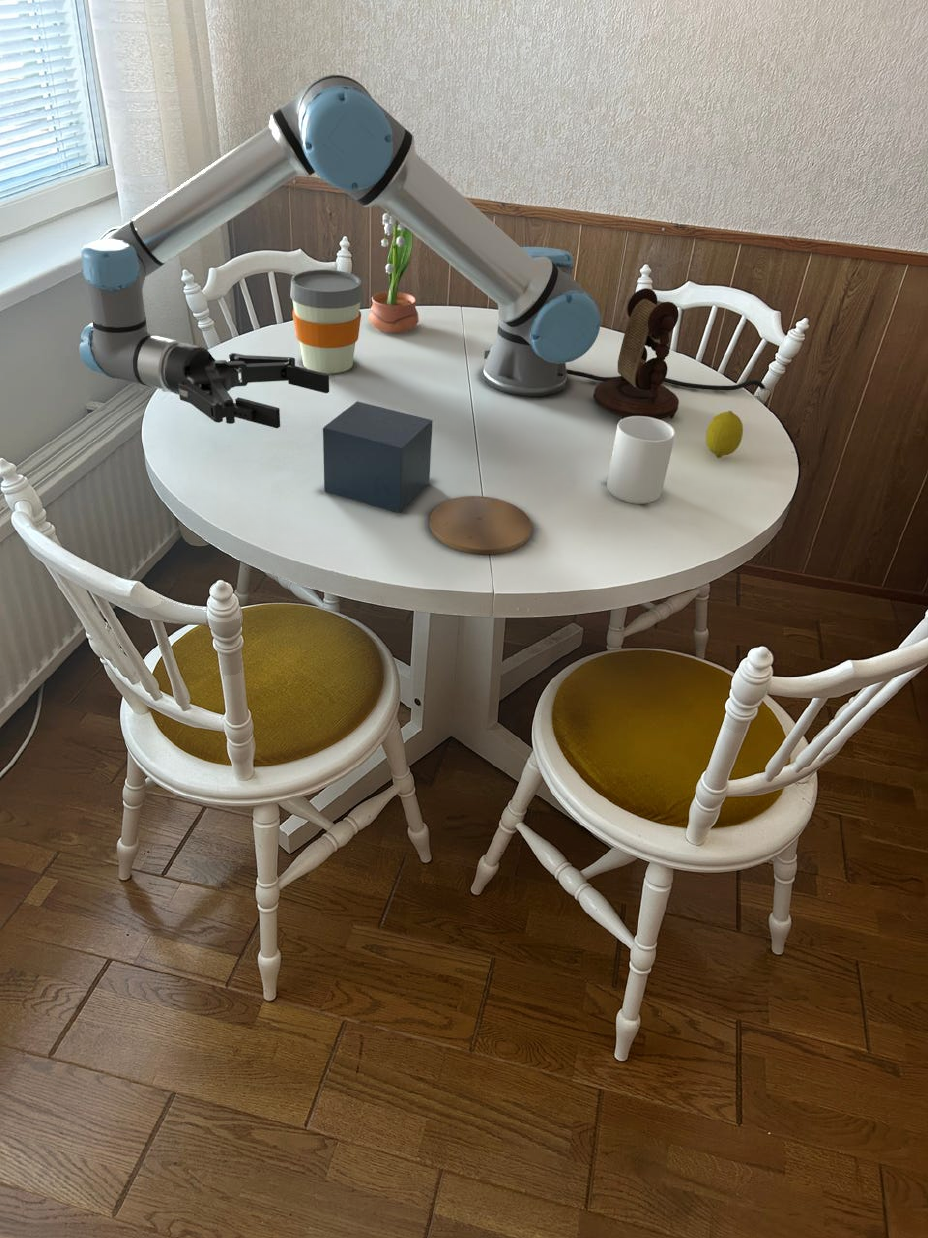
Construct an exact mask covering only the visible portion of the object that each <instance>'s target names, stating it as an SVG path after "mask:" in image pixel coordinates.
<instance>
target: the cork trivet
mask: <svg viewBox="0 0 928 1238" xmlns="http://www.w3.org/2000/svg"><path fill="white" fill-rule="evenodd" d="M429 529H430V531H431V533H432V534H433V536H434V537H435V538H436V539H437V540H438V541H439V542H440V543H442V544H443V545H445V546H447V547H449V548H452V549H454V550H456V551H460V552H463V553H467V554H474V555H497V554H498V555H500V554H504V553H509V552H511V551H514V550H516V549H518V548H520V547H522V546H523V545H524V544H526V543H527V542H528V540H529V539H530V536H531V533H532V532H531V531H532V522H531V519H530V518H529V516H528V515H527V513H525V511H524V510H522V509H521V508H520V507H518V506H516V505H515V504H513V503H510V502H508V501H505V500H502V499H499V498H495V497H490V496H481V495H467V496H460V497H455V498H451V499H448V500H446V501H443V502H441V503H440V504H438V505H437V506H436V507H435V508H433V510H432V512H431V513H430V516H429Z"/></svg>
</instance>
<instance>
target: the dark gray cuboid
mask: <svg viewBox="0 0 928 1238" xmlns="http://www.w3.org/2000/svg"><path fill="white" fill-rule="evenodd" d="M433 421H434V420H433V419H430V418H426V417H421V416H418V415H415V414H414V415H413V414H410V413H407V412H406V413H405V412H402V411H399V410H398V411H397V410H394V409H389V408H385V407H382V406H379V405H378V406H377V405H374V404H370V403H366V402H362V401H355V402H354V403H353V404H352V405H350V406H349V407H348V408H347V409H345V410H343V411H342V412H341V413H340V414H339V415H338V416H336V417H335V418H333V419H332V420H331V421H330V422H328V423H327V424H326V425H324V426H323V427H322V446H323V448H322V449H323V450H322V451H323V491H324V493H328V494H331V495H335V496H338V497H342V498H346V499H349V500H352V501H356V502H358V503H359V502H360V503H363V504H365V505H371V506H374V507H378V508H381V509H385V510H388V511H391V512H395V513H399V514H401V512H403V511H404V510H405V508H406V507H407V506H408V505H409V504H410V503H411V502H413V500H414V499H415V498H416V497H417V496H418V495H419V494H420V493H421V492H422V491H423V490H424V489H425V488H426V487H427V486H428V485H429V484H430V480H431V479H430V477H431V462H432V461H431V460H432V459H431V457H432V441H433V440H432V439H433Z"/></svg>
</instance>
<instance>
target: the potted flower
mask: <svg viewBox="0 0 928 1238" xmlns="http://www.w3.org/2000/svg"><path fill="white" fill-rule="evenodd" d="M381 221H382V225H383V226H384V232H383V234H384V237H386V236H392V235H393V239H392V242H391V246H390V248H389V253H388V257H387V264H386V265H385V273H386V274H388V279H389V289H388V291H382V292H378V293H375V294H374V295H372V297H371V300H372V305H371V307H370V309H369V312H368V321H369V322H370V324H371V326H373V327H374V328H375V329H377V330H378V331H381V332H385V333H388V334H389V333H391V334H401V333H406V332H409V331H411V330H413V329H415V328H416V326H417V325H418V324H419V312H418V310H417V308H416V303H417V299H416V298H415V296H413V295H412V294H409V293H405V292H401V291H399V285H400V282H401V280H402V277H403V275H404V274H405V272H406V270H407V268H408V267H409V264H410V259H411V254H412V249H413V233H412V232H411V231H410V230H408V229H407V228H406V227H405V226H404V225H402V224H401V223H400V222H397V221H398V220H396V219H395V218H394V217H393V216H392V215H390V214H389V213H388V212H386V213H385V212H384V213H383V215H382V219H381ZM381 247H383V248H386V247H389V240H388V238H382V239H381Z"/></svg>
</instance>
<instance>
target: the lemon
mask: <svg viewBox="0 0 928 1238" xmlns="http://www.w3.org/2000/svg"><path fill="white" fill-rule="evenodd" d="M743 425H744V424H743V422H742V420H741V418H740V417H739V416H738V415H737V414H735V412H734V411H732V410H728V411H725V412H720V413H719V414H716V416H714V417H713V418H712V419H711V421H710V423H709V425H708V427H707V430H706V434H705V443H706V444H705V445H706V446H707V448H708V450H709V451H710V452H711V453H712V454H714V455H715V458H719V459H720V458H723V457H724V456H725V457H726V456H729V455H732V454H733V453H734V452H735V451H736V450H737V449H738V448H739V446H740V444H741V442H742V439H743V433H744V426H743Z"/></svg>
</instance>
